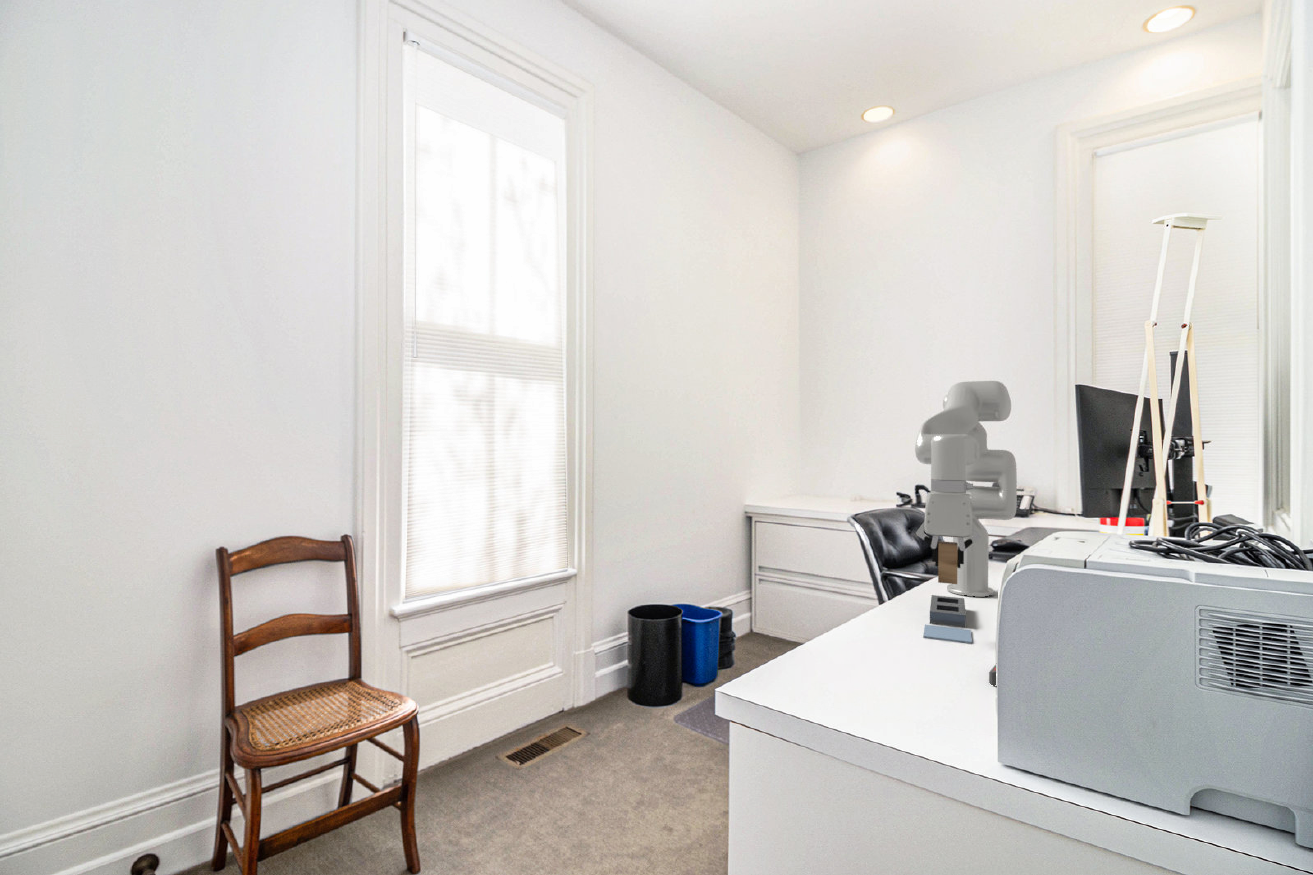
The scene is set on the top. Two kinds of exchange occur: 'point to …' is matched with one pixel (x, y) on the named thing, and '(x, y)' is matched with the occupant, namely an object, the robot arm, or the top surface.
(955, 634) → the pad
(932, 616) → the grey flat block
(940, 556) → the plug
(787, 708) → the top surface
